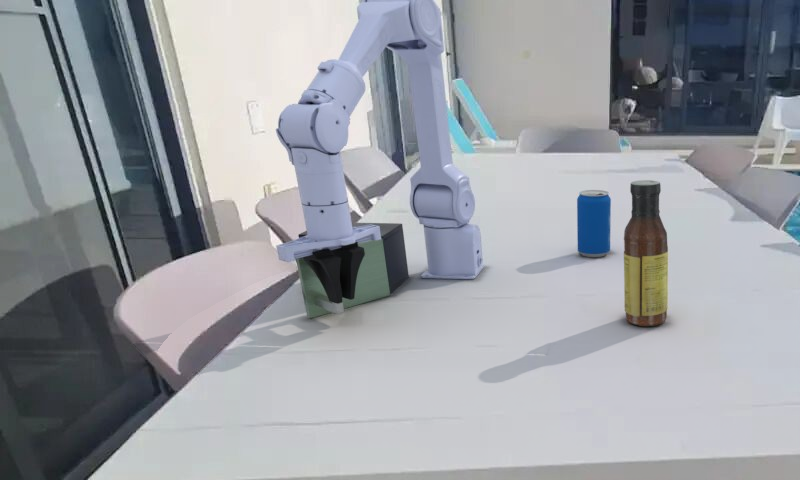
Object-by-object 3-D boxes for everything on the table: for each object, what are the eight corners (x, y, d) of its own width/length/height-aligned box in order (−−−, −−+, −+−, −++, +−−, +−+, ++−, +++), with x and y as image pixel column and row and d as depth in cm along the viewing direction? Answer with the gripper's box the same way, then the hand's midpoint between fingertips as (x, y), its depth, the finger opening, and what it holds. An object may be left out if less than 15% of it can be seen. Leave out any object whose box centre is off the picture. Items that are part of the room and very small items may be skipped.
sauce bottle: (671, 316, 95) (678, 179, 87) (660, 330, 90) (667, 187, 82) (629, 310, 97) (632, 177, 89) (616, 325, 92) (618, 184, 84)
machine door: (411, 303, 99) (404, 244, 96) (330, 328, 90) (318, 264, 86) (387, 294, 103) (379, 237, 99) (307, 317, 94) (294, 255, 90)
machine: (390, 294, 104) (382, 236, 100) (309, 292, 104) (297, 234, 100) (409, 278, 112) (402, 223, 108) (333, 276, 112) (324, 221, 108)
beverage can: (606, 259, 123) (607, 196, 118) (574, 257, 125) (573, 194, 119) (612, 250, 129) (613, 190, 124) (581, 248, 130) (581, 188, 125)
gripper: (292, 215, 76) (312, 321, 82) (389, 196, 87) (401, 291, 93) (259, 208, 80) (281, 310, 86) (356, 191, 91) (370, 282, 97)
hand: (341, 299), depth 89 cm, fingers closed on machine door
